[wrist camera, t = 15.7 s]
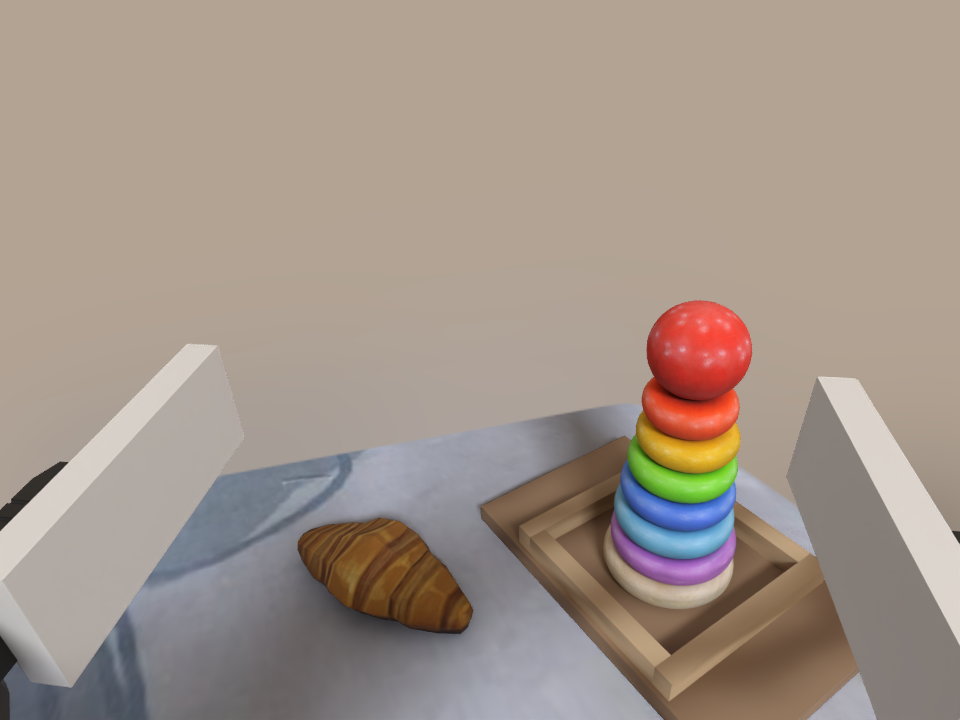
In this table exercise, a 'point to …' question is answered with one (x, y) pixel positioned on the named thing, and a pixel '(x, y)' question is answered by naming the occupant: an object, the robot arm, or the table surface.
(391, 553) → the croissant
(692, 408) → the stacking toy
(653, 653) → the toy stand
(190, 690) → the table surface
